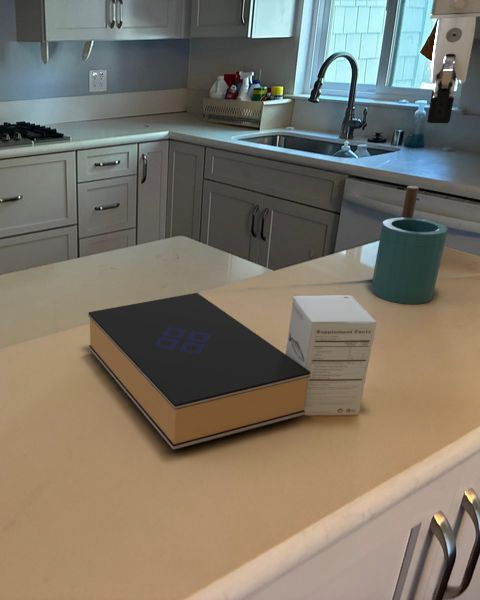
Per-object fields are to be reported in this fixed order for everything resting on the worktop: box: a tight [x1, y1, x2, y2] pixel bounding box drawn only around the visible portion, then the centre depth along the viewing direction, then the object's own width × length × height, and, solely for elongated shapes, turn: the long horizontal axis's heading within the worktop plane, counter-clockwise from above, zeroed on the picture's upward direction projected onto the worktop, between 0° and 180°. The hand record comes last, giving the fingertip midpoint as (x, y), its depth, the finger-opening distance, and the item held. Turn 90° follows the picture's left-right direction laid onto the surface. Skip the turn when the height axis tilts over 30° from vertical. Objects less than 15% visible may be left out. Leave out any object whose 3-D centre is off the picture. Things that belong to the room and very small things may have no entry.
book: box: [87, 292, 311, 451], centre depth 79 cm, size 17×25×7 cm
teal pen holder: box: [370, 217, 449, 305], centre depth 103 cm, size 9×9×12 cm
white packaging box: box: [285, 294, 377, 416], centre depth 73 cm, size 7×7×13 cm
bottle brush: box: [400, 185, 420, 218], centre depth 111 cm, size 4×4×16 cm
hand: (438, 118), depth 105 cm, fingers open, 9 cm apart
